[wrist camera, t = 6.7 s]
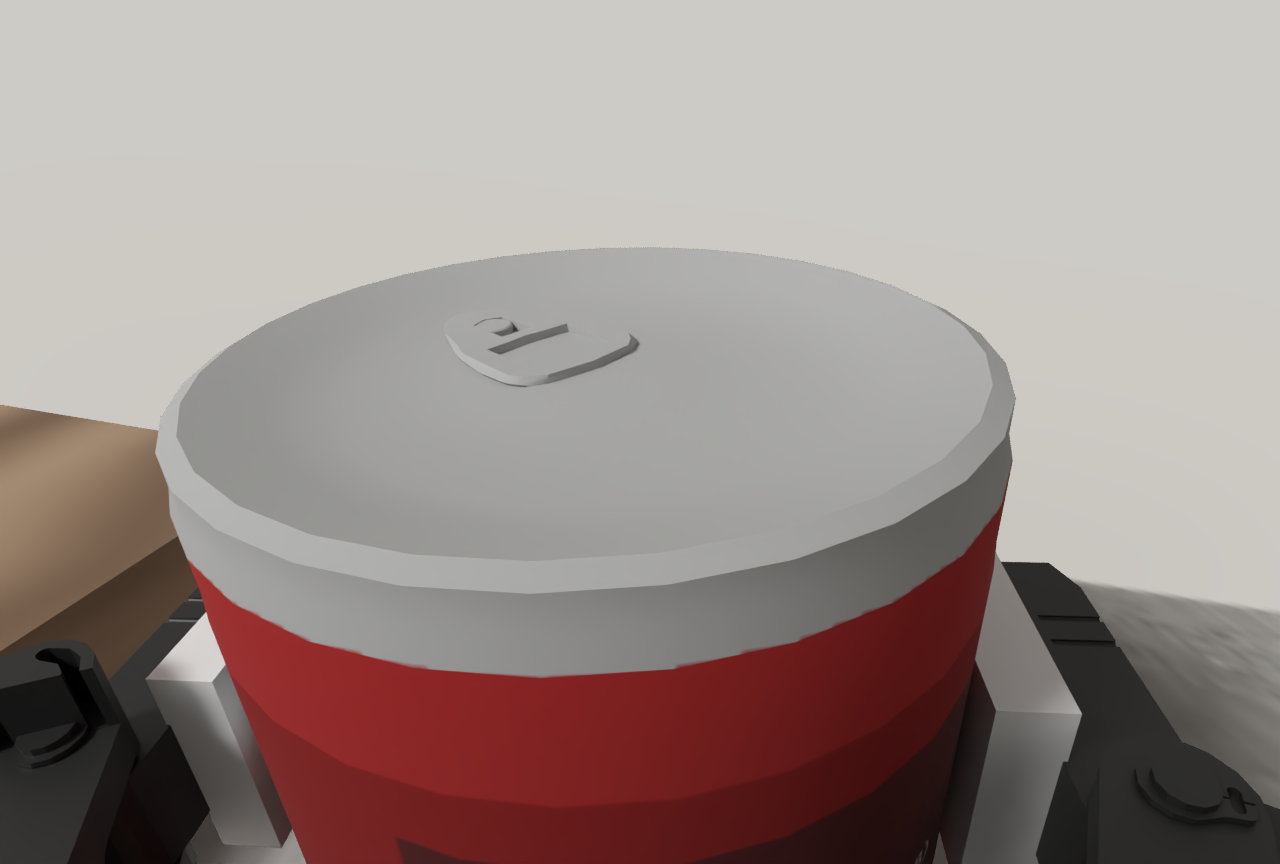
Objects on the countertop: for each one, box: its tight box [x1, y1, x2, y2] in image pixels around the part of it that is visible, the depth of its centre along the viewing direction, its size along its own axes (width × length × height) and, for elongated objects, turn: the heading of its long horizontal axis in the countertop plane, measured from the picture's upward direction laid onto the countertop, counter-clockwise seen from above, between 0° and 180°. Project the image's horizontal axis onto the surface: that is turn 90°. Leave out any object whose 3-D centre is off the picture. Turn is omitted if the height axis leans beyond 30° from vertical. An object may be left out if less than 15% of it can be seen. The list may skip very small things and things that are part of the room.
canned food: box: [155, 248, 1016, 864], centre depth 10 cm, size 8×8×11 cm
